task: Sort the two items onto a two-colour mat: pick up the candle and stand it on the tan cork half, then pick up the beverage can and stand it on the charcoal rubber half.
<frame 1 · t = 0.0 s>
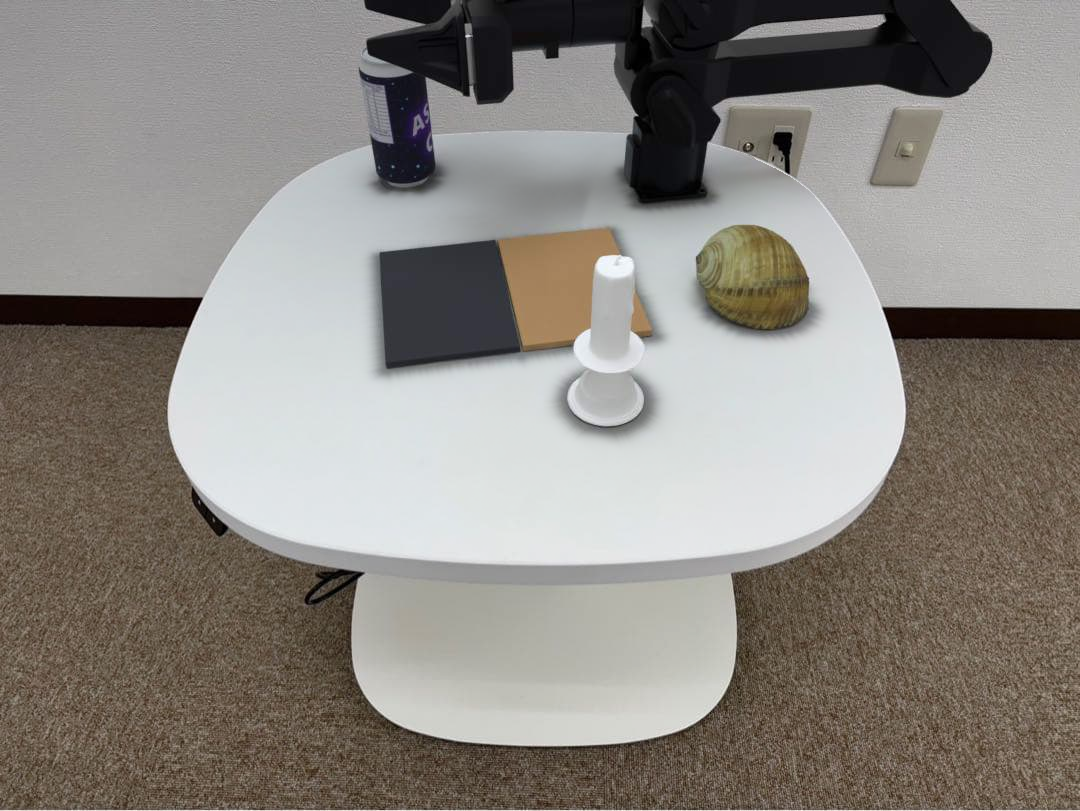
hand: (365, 23, 61), 17 cm above the table, tool horizontal, fingers open, 9 cm apart
beverage can: (407, 178, 77), on the table
seashell: (750, 300, 64), on the table
candle: (605, 401, 56), on the table
sorting mat: (508, 294, 64), on the table
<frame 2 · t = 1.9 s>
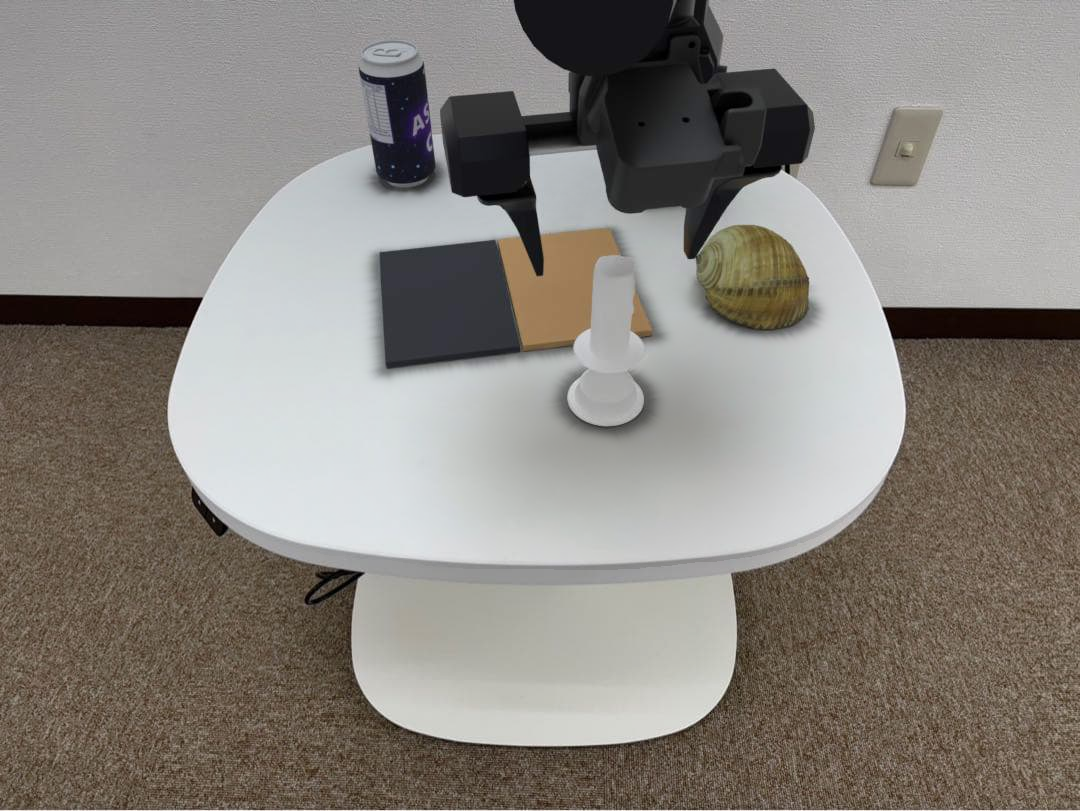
hand: (614, 263, 48), 11 cm above the table, tool pointing down, fingers open, 9 cm apart
nothing on the table moved.
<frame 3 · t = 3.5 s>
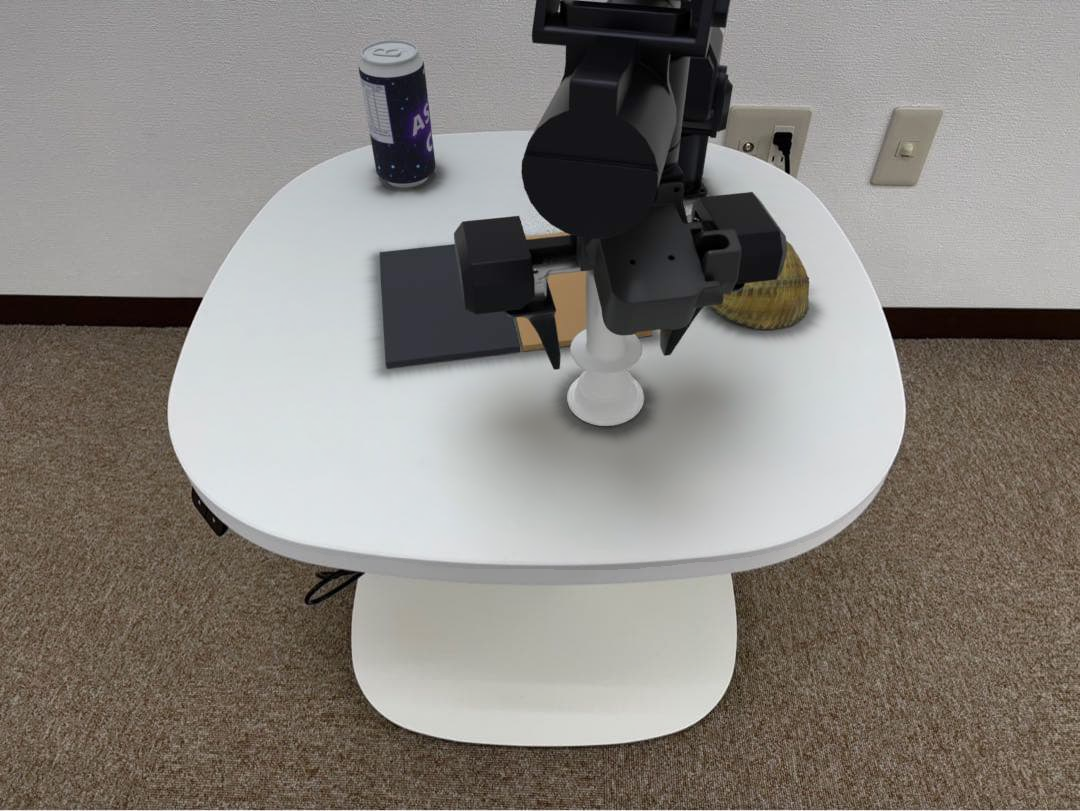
hand: (610, 358, 53), 4 cm above the table, tool pointing down, fingers closed on candle, 7 cm apart
candle: (605, 400, 56), on the table, touching gripper
everything else where it was.
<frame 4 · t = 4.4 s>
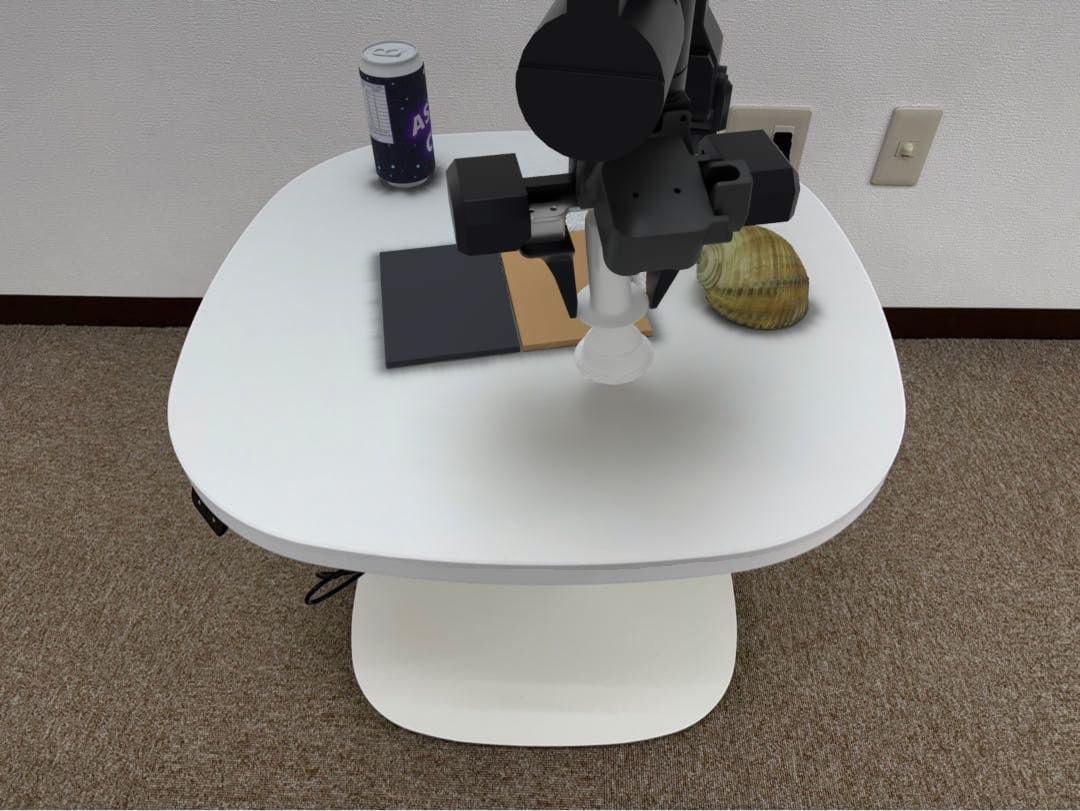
hand: (611, 309, 50), 8 cm above the table, tool pointing down, fingers closed on candle, 5 cm apart
candle: (614, 358, 54), point 3 cm above the table, touching gripper
everything else where it was.
when the fingers open (5 cm above the table, at t = 8.0 s): candle stays where it is, resting on sorting mat.
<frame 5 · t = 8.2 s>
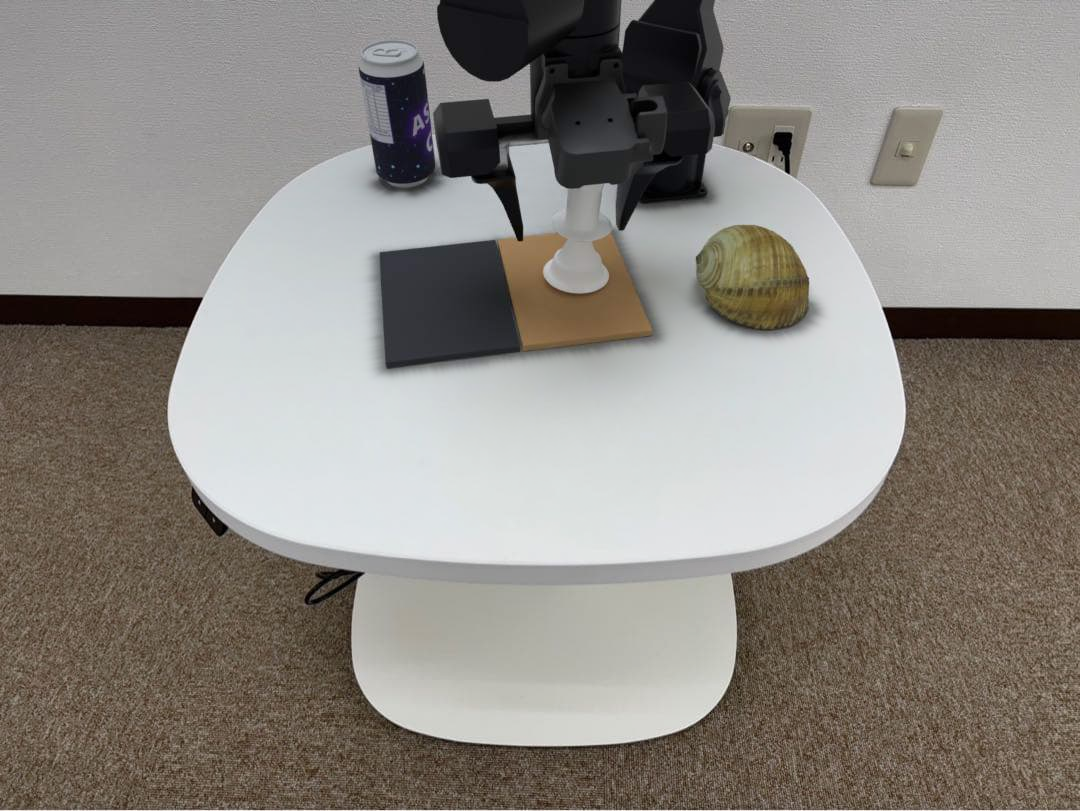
hand: (570, 233, 61), 5 cm above the table, tool pointing down, fingers open, 7 cm apart
candle: (575, 277, 65), point 1 cm above the table, touching gripper, sorting mat
everything else where it was.
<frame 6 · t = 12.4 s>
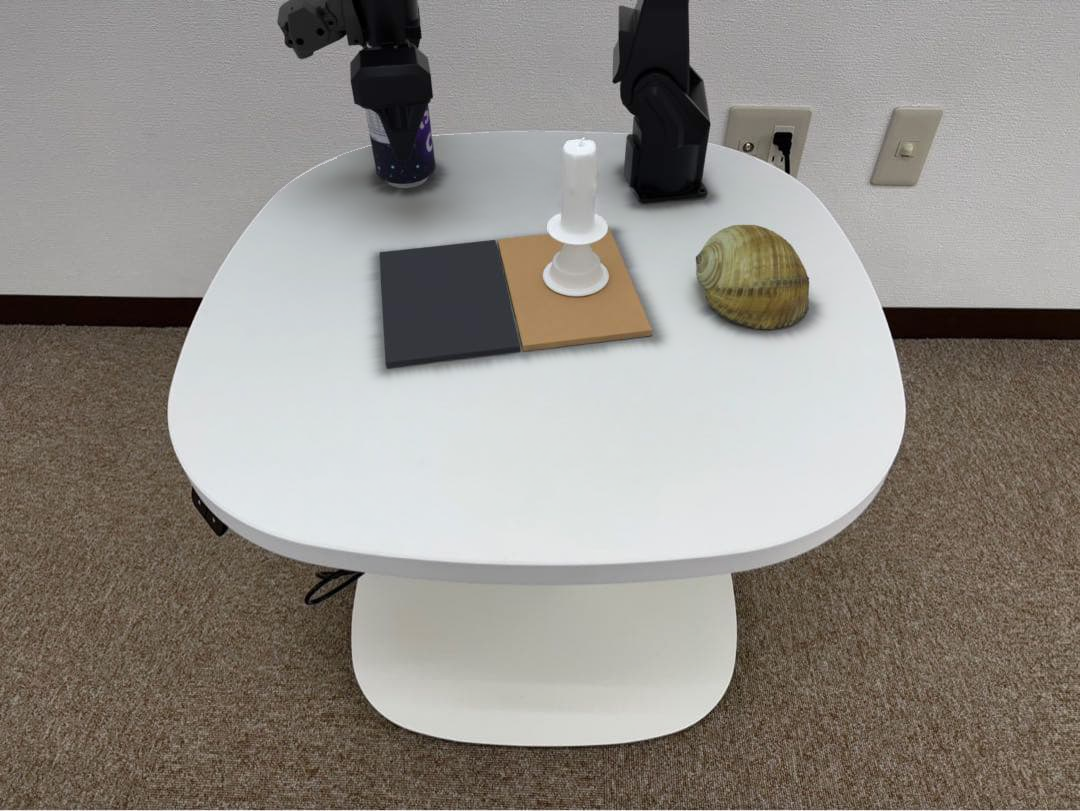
hand: (400, 135, 74), 4 cm above the table, tool pointing down
beverage can: (407, 178, 77), on the table, touching gripper
candle: (575, 279, 65), resting on sorting mat
everything else where it was.
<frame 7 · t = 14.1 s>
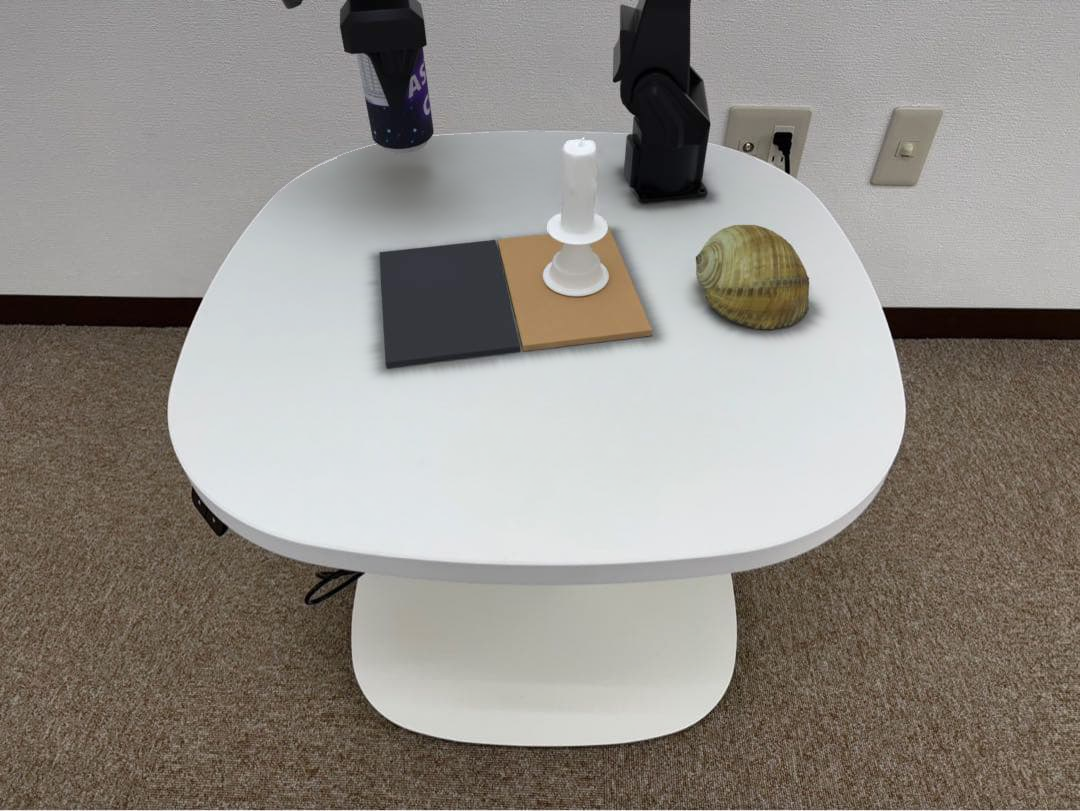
hand: (394, 93, 71), 8 cm above the table, tool pointing down, fingers closed on beverage can, 6 cm apart
beverage can: (404, 144, 75), point 3 cm above the table, touching gripper
everything else where it was.
when the fingers open (5 cm above the table, at t = 18.1 s): beverage can stays where it is, resting on sorting mat.
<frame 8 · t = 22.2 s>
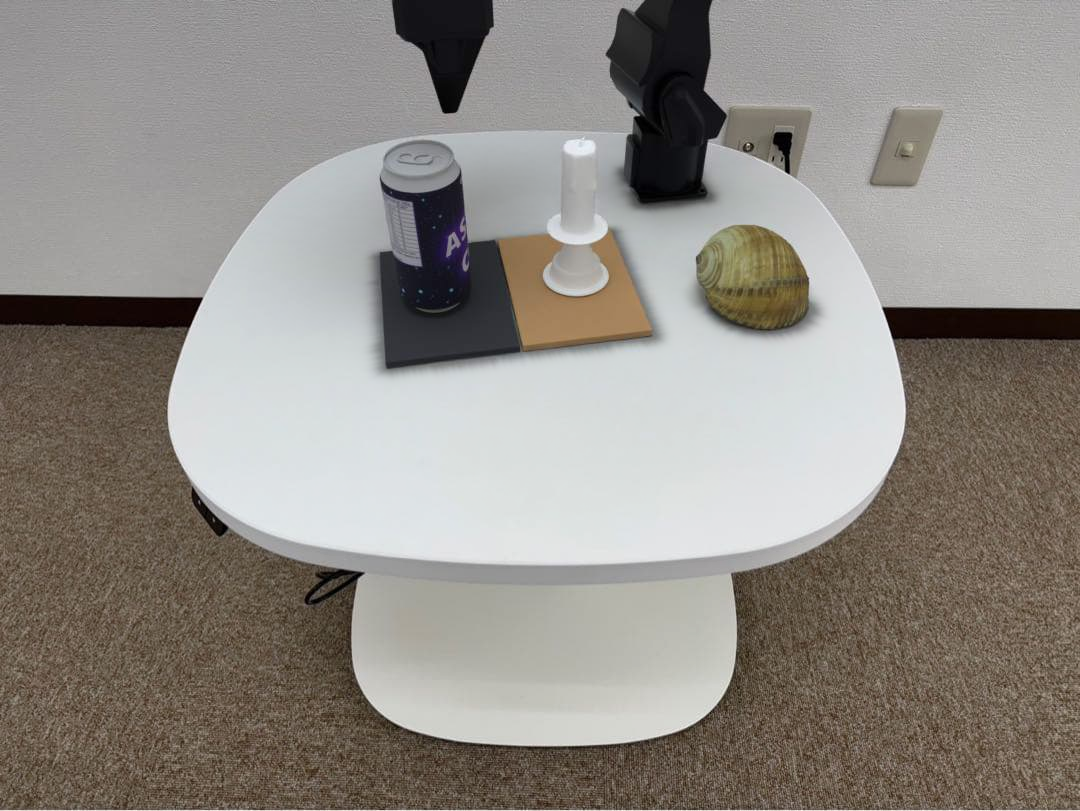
hand: (444, 85, 61), 13 cm above the table, tool pointing down, fingers open, 9 cm apart
beverage can: (436, 298, 63), resting on sorting mat
everything else where it was.
at the end: candle inside the target area on the sorting mat (0.5 cm from its centre), point 0.4 cm above the sorting mat's base; beverage can inside the target area on the sorting mat (0.2 cm from its centre), point 0.4 cm above the sorting mat's base; beverage can tilted 0° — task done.
